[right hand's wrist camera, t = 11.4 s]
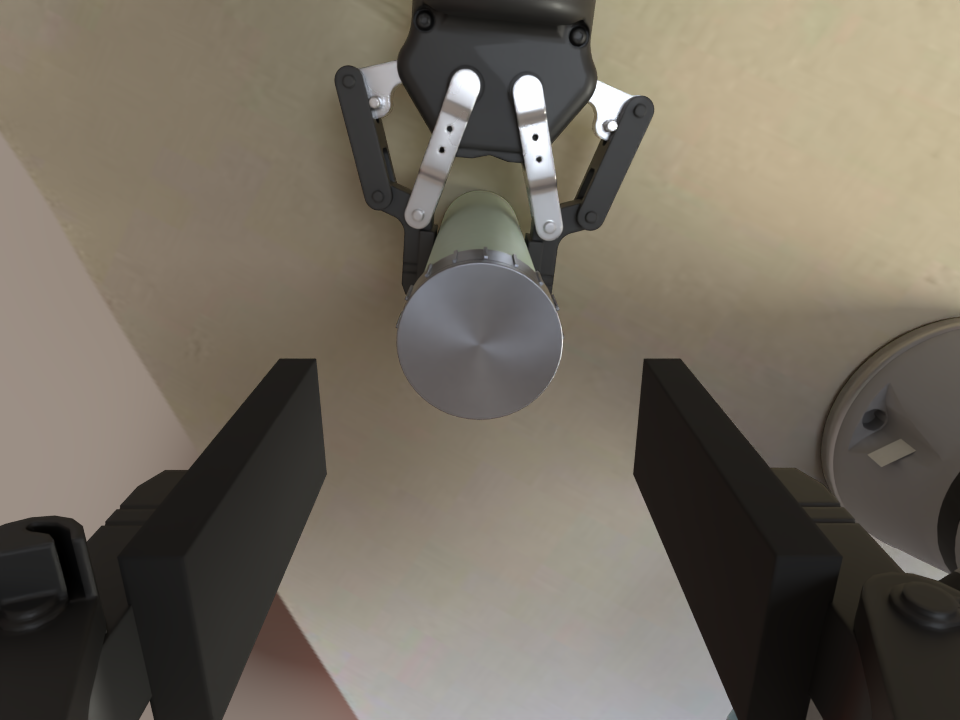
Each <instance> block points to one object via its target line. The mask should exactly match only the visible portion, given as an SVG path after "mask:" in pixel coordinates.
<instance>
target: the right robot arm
mask: <svg viewBox="0 0 960 720" xmlns="http://www.w3.org/2000/svg"><path fill="white" fill-rule="evenodd" d="M821 462H822V469H823V473H824V477H825V480H826V483H827V485H828V487H829V490H830V491H831V493H832V494H831V493H830V491H829V490H828V489H827V488H826V487H825V486H824V485H823V484H822V483H820V482H818V481H816V480H815V479H813V478H811V477H810V476H808V475H806V474H805V473H803V472H801V471H800V470H798V469H796V468H770V467H769V466H768V465H767V464H766V462H765V461H764V460H763V459H762V458H761V456H760V455H759V454H758V453H757V451H756V450H755V449H754V448H753V447H752V445H751V444H750V443H749V442H748V441H747V439H746V438H745V437H744V436H743V434H742V433H741V432H740V431H739V430H738V428H737V427H736V426H735V425H734V423H733V422H732V421H731V420H730V419H729V417H728V416H727V415H726V414H725V412H724V411H723V410H722V409H721V408H720V406H719V405H718V404H717V403H716V402H715V400H714V399H713V398H712V397H711V395H710V394H709V393H708V392H707V391H706V389H705V388H704V387H703V386H702V384H701V383H700V382H699V381H698V380H697V378H696V377H695V376H694V375H693V373H692V372H691V371H690V370H689V369H688V367H687V366H686V365H685V364H684V363H683V361H682V360H681V359H644V362H643V373H642V384H641V395H640V406H639V417H638V428H637V439H636V450H635V461H634V472H633V475H634V477H635V479H636V482H637V484H638V486H639V489H640V491H641V494H642V496H643V498H644V501H645V503H646V505H647V508H648V510H649V512H650V515H651V517H652V519H653V522H654V524H655V526H656V529H657V531H658V533H659V536H660V538H661V540H662V543H663V545H664V548H665V550H666V552H667V555H668V557H669V559H670V562H671V564H672V566H673V569H674V571H675V573H676V576H677V578H678V580H679V583H680V585H681V587H682V590H683V592H684V594H685V597H686V599H687V601H688V604H689V606H690V609H691V611H692V613H693V616H694V618H695V620H696V623H697V625H698V627H699V630H700V632H701V634H702V637H703V639H704V641H705V644H706V646H707V648H708V651H709V653H710V655H711V658H712V660H713V663H714V665H715V667H716V670H717V672H718V674H719V677H720V679H721V681H722V684H723V686H724V688H725V691H726V693H727V695H728V698H729V700H730V702H731V705H732V707H733V710H732V711H731V712H730V714H729V715H728V717H727V719H726V720H960V317H959V318H952V319H947V320H942V321H939V322H935V323H932V324H928V325H926V326H923V327H920V328H918V329H915V330H913V331H911V332H909V333H907V334H905V335H903V336H901V337H899V338H897V339H896V340H894V341H892V342H891V343H889V344H888V345H886V346H885V347H883V348H882V349H880V350H879V351H878V352H877V353H875V354H874V355H873V356H872V357H870V358H869V359H868V360H867V361H866V362H865V363H864V364H863V365H862V366H861V367H860V368H859V369H858V370H857V371H856V372H855V373H854V374H853V375H852V376H851V378H850V379H849V380H848V382H847V383H846V384H845V386H844V387H843V388H842V390H841V392H840V393H839V395H838V396H837V398H836V400H835V402H834V404H833V406H832V408H831V410H830V412H829V415H828V417H827V420H826V424H825V427H824V431H823V436H822V444H821ZM326 475H327V472H326V461H325V450H324V439H323V428H322V417H321V406H320V395H319V384H318V373H317V362H316V359H279V360H278V361H277V363H276V364H275V365H274V366H273V367H272V369H271V370H270V371H269V372H268V373H267V375H266V376H265V377H264V378H263V380H262V381H261V382H260V383H259V384H258V386H257V387H256V388H255V389H254V391H253V392H252V393H251V394H250V395H249V397H248V398H247V399H246V400H245V402H244V403H243V404H242V405H241V406H240V408H239V409H238V410H237V411H236V412H235V414H234V415H233V416H232V417H231V419H230V420H229V421H228V422H227V423H226V425H225V426H224V427H223V428H222V430H221V431H220V432H219V433H218V434H217V436H216V437H215V438H214V439H213V441H212V442H211V443H210V444H209V445H208V447H207V448H206V449H205V450H204V451H203V453H202V454H201V455H200V456H199V458H198V459H197V460H196V461H195V462H194V464H193V465H192V466H191V467H190V469H189V470H165V471H163V472H161V473H160V474H158V475H156V476H155V477H153V478H151V479H149V480H148V481H146V482H144V483H143V484H141V485H139V486H138V487H137V488H136V489H135V490H134V491H133V492H132V493H131V494H130V495H129V497H128V498H127V499H126V500H125V501H124V502H123V503H122V504H121V505H120V509H117V510H116V511H115V512H114V513H113V514H112V515H111V516H110V517H109V518H108V519H107V520H106V522H105V526H101V527H100V528H99V529H98V530H97V531H96V532H95V533H94V535H93V536H92V537H91V538H90V539H89V540H88V541H87V542H86V537H85V533H84V529H83V526H82V525H81V524H79V523H78V522H77V521H75V520H74V519H72V518H66V517H60V516H44V517H32V518H27V519H23V520H19V521H15V522H11V523H8V524H4V525H2V526H0V720H139V719H140V717H141V715H142V713H143V711H144V710H145V708H146V706H147V704H148V703H149V701H150V704H151V708H152V712H153V717H154V720H222V719H223V716H224V714H225V712H226V709H227V707H228V705H229V702H230V700H231V698H232V695H233V693H234V691H235V688H236V686H237V684H238V681H239V679H240V677H241V674H242V672H243V670H244V667H245V665H246V662H247V660H248V658H249V655H250V653H251V651H252V648H253V646H254V644H255V641H256V639H257V637H258V634H259V632H260V630H261V627H262V625H263V623H264V620H265V618H266V616H267V613H268V611H269V609H270V606H271V604H272V601H273V599H274V597H275V594H276V592H277V590H278V587H279V585H280V583H281V580H282V578H283V576H284V573H285V571H286V569H287V566H288V564H289V562H290V559H291V557H292V555H293V552H294V550H295V548H296V545H297V543H298V540H299V538H300V536H301V533H302V531H303V529H304V526H305V524H306V522H307V519H308V517H309V515H310V512H311V510H312V508H313V505H314V503H315V501H316V498H317V496H318V494H319V491H320V489H321V486H322V484H323V482H324V479H325V477H326ZM855 522H856V523H855ZM868 533H870V534H871V535H873V536H874V537H876V538H877V539H879V540H880V541H882V542H884V543H886V544H888V545H890V546H892V547H894V548H898V549H900V550H902V551H904V552H905V553H907V554H909V555H911V556H913V557H915V558H918V559H920V560H922V561H924V562H926V563H928V564H930V565H932V566H934V567H936V568H938V569H940V570H942V571H945V572H947V573H949V575H947V576H946V577H944V578H942V579H941V580H939V581H937V580H933V579H930V578H926V577H923V576H919V575H916V574H911V573H905V572H904V571H903V570H902V569H901V568H900V567H899V566H898V565H897V564H896V563H895V562H894V561H893V559H892V558H891V557H890V556H889V555H888V554H887V553H886V552H885V551H884V550H883V549H882V548H881V547H880V545H879V544H878V543H877V542H876V541H875V540H874V539H873V538H872V537H871V536H870V535H869V534H868Z"/></svg>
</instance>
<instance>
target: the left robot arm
mask: <svg viewBox="0 0 960 720" xmlns="http://www.w3.org/2000/svg"><path fill="white" fill-rule="evenodd" d="M595 2H596V0H413V4H412V22H411V28H410V31H409V35H408V37H407V39H406V41H405V43H404V45H403V46H402V48H401V50H400V52H399V55H398V59H397V60H395V61H391V62H386V63H382V64H378V65H373V66H369V67H364V68H356V67H353V66H343V67H341V68H340V69H339V70H338V71H337V73H336V75H335V86H336V90H337V94H338V97H339V101H340V105H341V109H342V113H343V117H344V120H345V124H346V128H347V132H348V136H349V140H350V143H351V147H352V151H353V155H354V159H355V163H356V166H357V170H358V174H359V178H360V182H361V186H362V190H363V193H364V197H365V201H366V203H367V204H368V206H369V207H371V208H372V209H374V210H381V211H383V212H386V213H388V214H390V215H392V216H394V217H396V218H397V219H398V220H399V221H400V222H401V223H402V225H403V227H404V232H405V235H404V254H403V273H402V286H403V288H404V291H405V294H406V295H407V293H408V290H409V288H410V286H411V285H413V286H414V285H415V283H416V282H417V280H418V279H419V277H420V276H421V275H422V274H423V273H424V271H425V268H426V265H427V263H428V260H429V257H430V254H431V251H432V249H433V246H434V243H435V240H436V237H437V227H438V225H437V224H434V212H435V210H436V207H437V204H438V202H439V199H440V196H441V194H442V191H443V188H444V186H445V183H446V180H447V178H448V175H449V173H450V170H451V168H452V165H453V162H454V160H455V157H464V158H476V157H481V156H487V155H492V156H494V157H497V158H499V159H502V160H505V161H507V162H516V163H521V164H522V170H523V175H524V180H525V185H526V189H527V195H528V201H529V206H530V212H531V218H532V222H531V230H530V233H526V234H525V243H526V246H527V249H528V252H529V254H530V257H531V260H532V263H533V266H534V269H535V272H536V271H538V272H539V273H540V275H541V278H542V280H543V282H544V284H545V285H546V287H547V288H548V290H549V293H550V295H551V294H552V285H553V278H554V271H555V263H556V256H557V248H558V245H559V242H560V241H561V239H562V238H563V237H564V236H566V235H568V234H570V233H574V232H578V231H581V230H588V231H592V230H596V229H598V228H599V227H600V226H601V225H602V224H603V222H604V220H605V218H606V215H607V213H608V211H609V209H610V207H611V205H612V203H613V200H614V198H615V196H616V194H617V192H618V190H619V188H620V185H621V183H622V181H623V179H624V177H625V175H626V173H627V170H628V168H629V166H630V164H631V162H632V160H633V158H634V155H635V153H636V151H637V149H638V147H639V145H640V143H641V140H642V138H643V136H644V134H645V132H646V130H647V128H648V125H649V123H650V121H651V119H652V117H653V114H654V105H653V103H652V101H651V100H650V99H649V98H648V97H646V96H640V95H635V96H632V95H629V94H627V93H625V92H622V91H620V90H618V89H616V88H614V87H611V86H609V85H607V84H605V83H603V82H600V81H598V80H597V71H596V68H595V65H594V62H593V60H592V55H591V48H590V40H591V32H592V24H593V17H594V9H595ZM402 84H403V85H404V87H405V89H406V90H407V92H408V94H409V96H410V97H411V99H412V101H413V102H414V104H415V106H416V108H417V109H418V111H419V113H420V114H421V116H422V118H423V119H424V121H425V123H426V125H427V126H428V128H429V130H430V131H431V133H432V136H431V139H430V141H429V144H428V147H427V150H426V152H425V155H424V158H423V161H422V163H421V166H420V169H419V173H418V176H417V179H416V182H415V185H414V187H413V190H410V189H408V188H406V187H404V186H401V185H399V184H397V182H396V178H395V174H394V170H393V166H392V161H391V157H390V153H389V149H388V145H387V141H386V137H385V132H384V128H383V124H382V120H381V118H382V117H385V116H387V115H389V114H390V112H391V111H392V108H393V94H394V91H395V90H396V88H397V87H398V86H400V85H402ZM587 103H588V104H590V105H591V107H592V108H593V111H594V119H593V123H592V129H593V132H594V134H595V135H596V136H597V137H598V138H600V139H601V141H600V143H599V145H598V147H597V150H596V152H595V154H594V156H593V159H592V161H591V163H590V165H589V167H588V170H587V172H586V174H585V176H584V179H583V181H582V183H581V185H580V188H579V190H578V192H577V194H576V197H575V199H574V200H572V201H569V202H565V203H561V204H559V198H558V192H557V179H556V173H555V166H554V160H553V154H552V148H551V144H552V143H553V142H554V141H555V139H556V138H557V137H558V136H559V135H560V134H561V132H562V131H563V130H564V129H565V128H566V127H567V126H568V124H569V123H570V122H571V121H572V120H573V119H574V117H575V116H576V115H577V114H578V113H579V112H580V111H581V109H582V108H583V107H584V106H585V105H586V104H587Z"/></svg>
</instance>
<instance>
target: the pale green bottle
mask: <svg viewBox="0 0 960 720" xmlns="http://www.w3.org/2000/svg"><path fill="white" fill-rule="evenodd" d="M484 247H487V248H488V250H495V251H499V252H503V253H506V254H509V255H511V256H512V255H513V254H515V255H516V256H517V259H519V260H521V261H522V262H524V263H525V264H527V265H528V266H529V267H530V268H532V269H533V270H534V271H535V269H534V266H533V263H532V260H531V257H530V254H529V252H528V249H527V246H526V243H525V240H524V237H523V234H522V232H521V229H520V226H519V223H518V220H517V217H516V215H515V212H514V210H513V209H512V207H511V206H510V204H509V203H508V202H507V201H506V200H505V199H503V198H502V197H501V196H499V195H497V194H495V193H492V192H489V191H482V190H478V191H471V192H468V193H465V194H463V195H461V196H459V197H458V198H457V199H455V200H454V201H453V202H452V203H451V205H450V206H449V207H448V209H447V211H446V213H445V215H444V218H443V220H442V223H441V226H440V229H439V232H438V234H437V237H436V240H435V243H434V246H433V249H432V251H431V254H430V257H429V260H428V263H427V265H426V268H425V271H426V270H427V267H428V265H429V264H430V263H431V264H432V265H433V264H434V263H436V262H437V261H439V260H440V259H442V258H444V257H446V256H449V255H451V254H453V253H454V251H455V250H458V252H460V251H465V250H471V249H484ZM425 271H424V272H425Z"/></svg>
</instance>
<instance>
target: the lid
mask: <svg viewBox="0 0 960 720" xmlns="http://www.w3.org/2000/svg"><path fill="white" fill-rule="evenodd" d="M405 300H407V301H406V304H405V306H404V309H403V311H402V312H401V314H400V317H399V319H398V322H397V324H396V328H398V330H397V352H398V357H399V361H400V365H401V367H402V370H403V372H404V374H405V376H406V378H407V380H408V381H409V383H410V384H411V386H412V387H413V388H414V390H415V391H416V392H417V393H418V394H419V395H420V396H421V397H422V398H423V399H424V400H426V401H427V402H428V403H429V404H431V405H433V406H434V407H436V408H437V409H439V410H441V411H443V412H446V413H448V414H451V415H454V416H457V417H461V418H466V419H477V420H482V419H493V418H499V417H503V416H506V415H509V414H512V413H514V412H516V411H519V410H520V409H522V408H524V407H526V406H527V405H529V404H530V403H531V402H533V401H534V400H535V399H536V398H537V397H538V396H540V395H541V394H542V393H543V392H544V390H545V389H546V388H547V386H548V385H549V384H550V382H551V381H552V379H553V377H554V375H555V373H556V371H557V369H558V366H559V363H560V360H561V356H562V349H563V339H564V334H563V332H562V326H561V322H560V318H559V315H558V312H557V311H558V310H559V307H558V305H557V302H556V300H555V297H554V295H550V293H549V290H548V288H547V287H546V285H545V284H544V282H543V280H542V278H541V275H540V273H539V272H538V271H536V272H535V271H534V270H533V269H532V268H530V267H529V266H528V265H527V264H525V263H524V262H522V261H521V260H519V259H517V256H516V255H515V254H513V255H512V256H511V255H509V254H506V253H503V252H499V251H495V250H488V248H487V247H484V249H471V250H465V251H460V252H458V250H455V251H454V253H453V254H451V255H449V256H446V257H444V258H442V259H440V260H439V261H437V262H436V263H434V264H433V265H432V264H431V263H430V264H429V265H428V267H427V270H426V271H425V272H424V273H423V274H422V275H421V276H420V277H419V279H418V280H417V282H416V283H415V285H414V286H413V285H411V286H410V288H409V290H408V293H407V295H406V297H405Z"/></svg>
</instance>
